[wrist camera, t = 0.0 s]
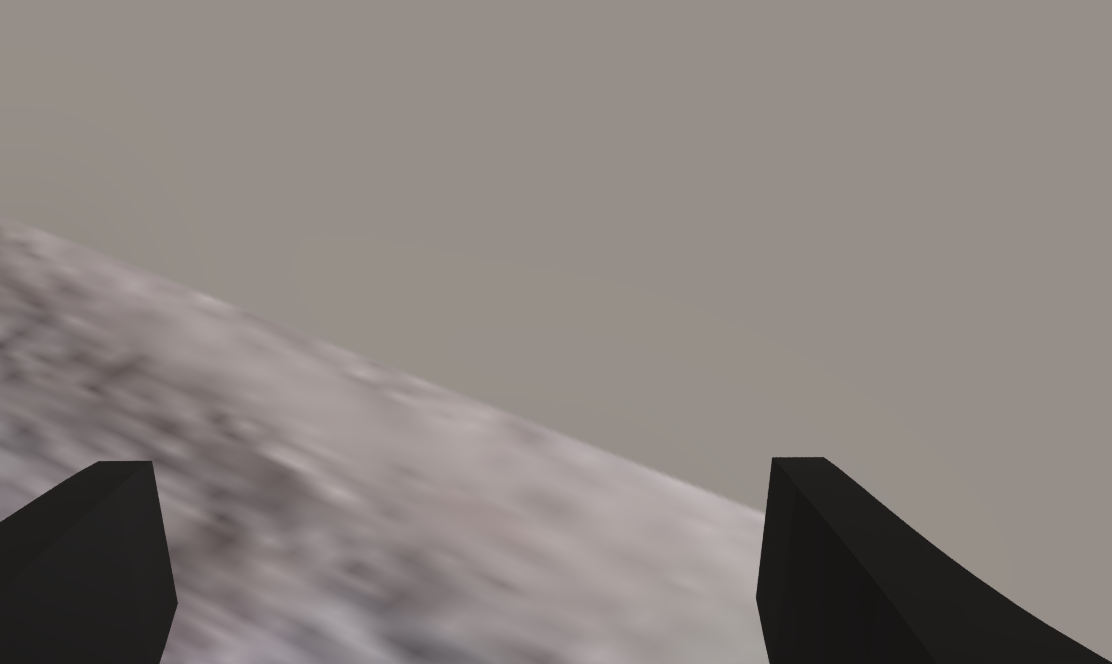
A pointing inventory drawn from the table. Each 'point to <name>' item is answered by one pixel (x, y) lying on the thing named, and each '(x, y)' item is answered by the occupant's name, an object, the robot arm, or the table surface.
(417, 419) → the table surface
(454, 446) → the table surface
